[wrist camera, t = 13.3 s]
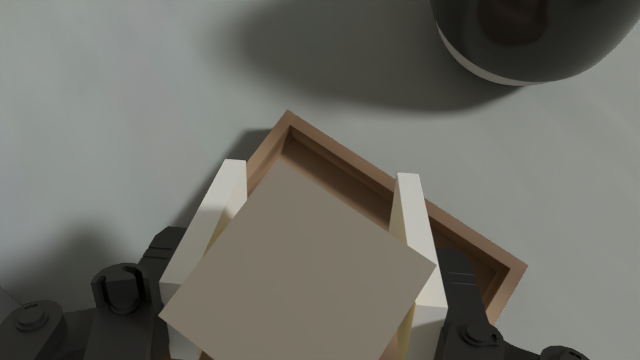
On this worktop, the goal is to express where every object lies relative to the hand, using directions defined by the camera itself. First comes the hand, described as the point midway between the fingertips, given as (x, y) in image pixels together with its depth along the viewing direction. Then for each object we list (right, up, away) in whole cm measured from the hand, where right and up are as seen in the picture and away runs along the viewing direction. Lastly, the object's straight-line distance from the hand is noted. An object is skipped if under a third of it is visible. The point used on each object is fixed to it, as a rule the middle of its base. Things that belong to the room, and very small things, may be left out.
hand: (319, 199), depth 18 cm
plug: (0, -5, +4) cm, 6 cm away
